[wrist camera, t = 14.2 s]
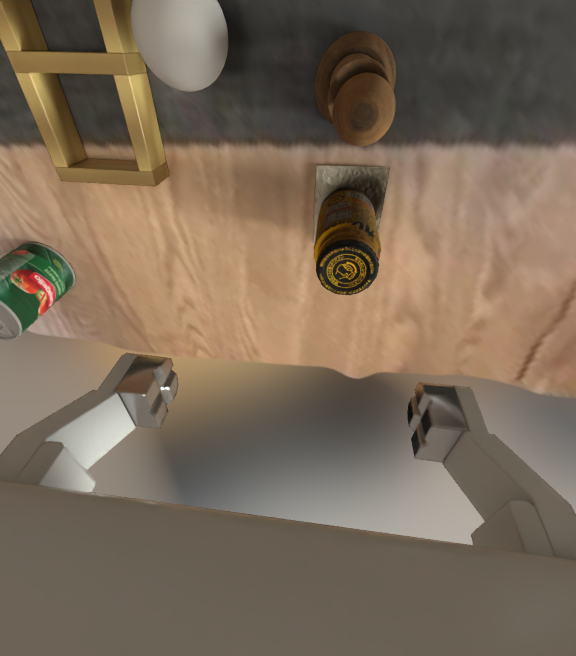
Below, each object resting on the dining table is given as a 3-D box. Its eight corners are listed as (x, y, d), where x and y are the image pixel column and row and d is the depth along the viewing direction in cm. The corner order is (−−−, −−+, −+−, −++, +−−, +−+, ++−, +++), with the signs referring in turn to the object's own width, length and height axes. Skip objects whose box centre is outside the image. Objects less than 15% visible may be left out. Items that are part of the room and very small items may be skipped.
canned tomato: (6, 253, 46) (-68, 299, 37) (41, 233, 43) (-30, 278, 35) (52, 296, 50) (-4, 346, 42) (87, 281, 47) (34, 331, 39)
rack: (-27, -111, 24) (-73, -130, 21) (107, -115, 23) (77, -135, 20) (80, 171, 37) (60, 181, 34) (169, 176, 36) (156, 186, 33)
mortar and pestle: (340, 141, 32) (340, 213, 18) (301, 74, 29) (265, 101, 15) (406, 89, 28) (464, 131, 15) (369, 8, 25) (400, -32, 12)
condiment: (313, 241, 39) (304, 301, 30) (316, 164, 33) (307, 210, 24) (375, 244, 38) (386, 306, 29) (389, 166, 33) (408, 213, 24)
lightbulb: (217, -39, 25) (155, -80, 17) (265, 48, 28) (234, 50, 20) (165, 25, 28) (91, 17, 19) (215, 97, 31) (168, 117, 22)
